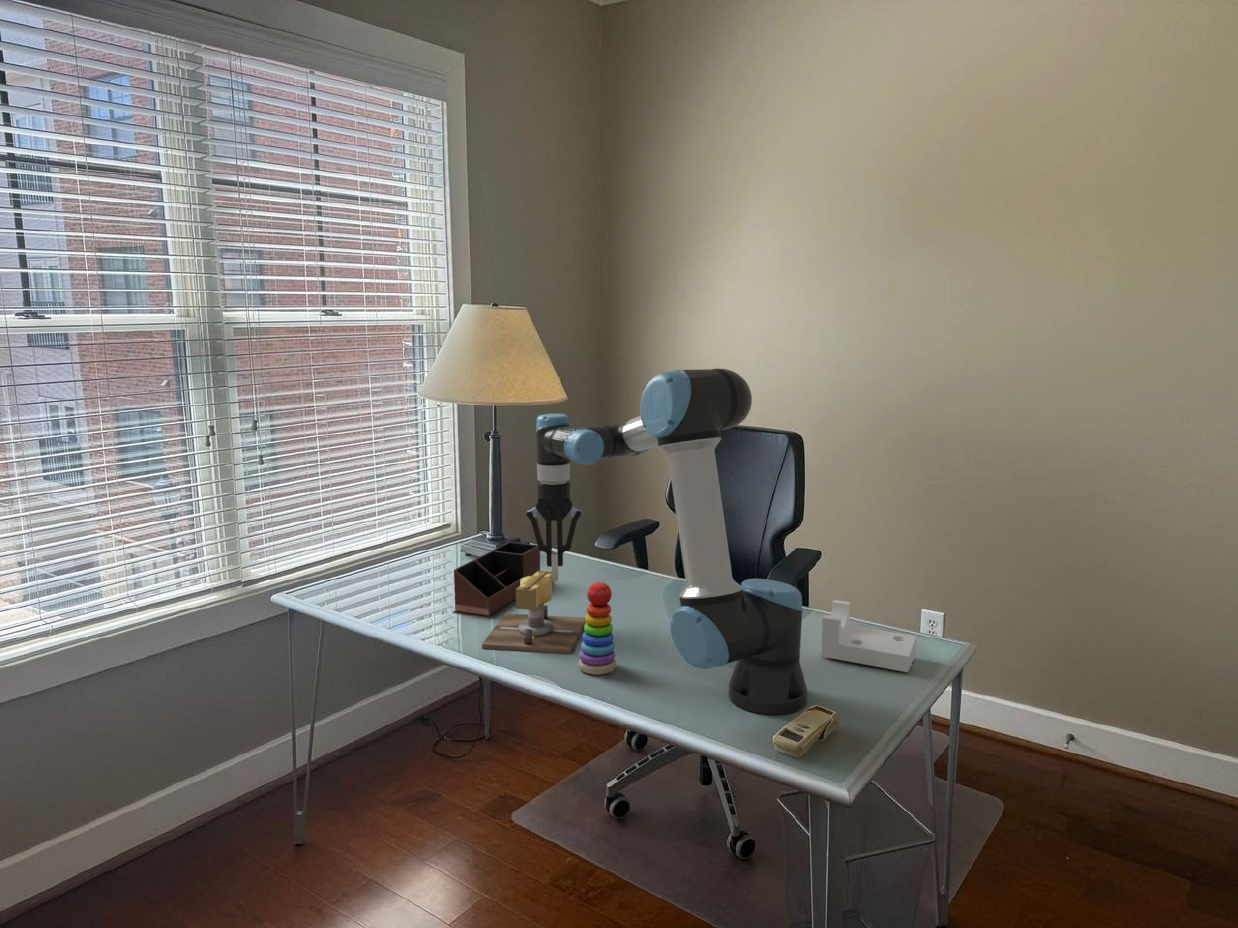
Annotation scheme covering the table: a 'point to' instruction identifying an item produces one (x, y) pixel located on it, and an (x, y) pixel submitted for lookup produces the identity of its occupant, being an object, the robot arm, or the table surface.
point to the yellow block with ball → (534, 590)
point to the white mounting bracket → (864, 642)
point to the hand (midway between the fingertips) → (555, 579)
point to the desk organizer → (494, 579)
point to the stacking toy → (598, 633)
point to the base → (535, 632)
